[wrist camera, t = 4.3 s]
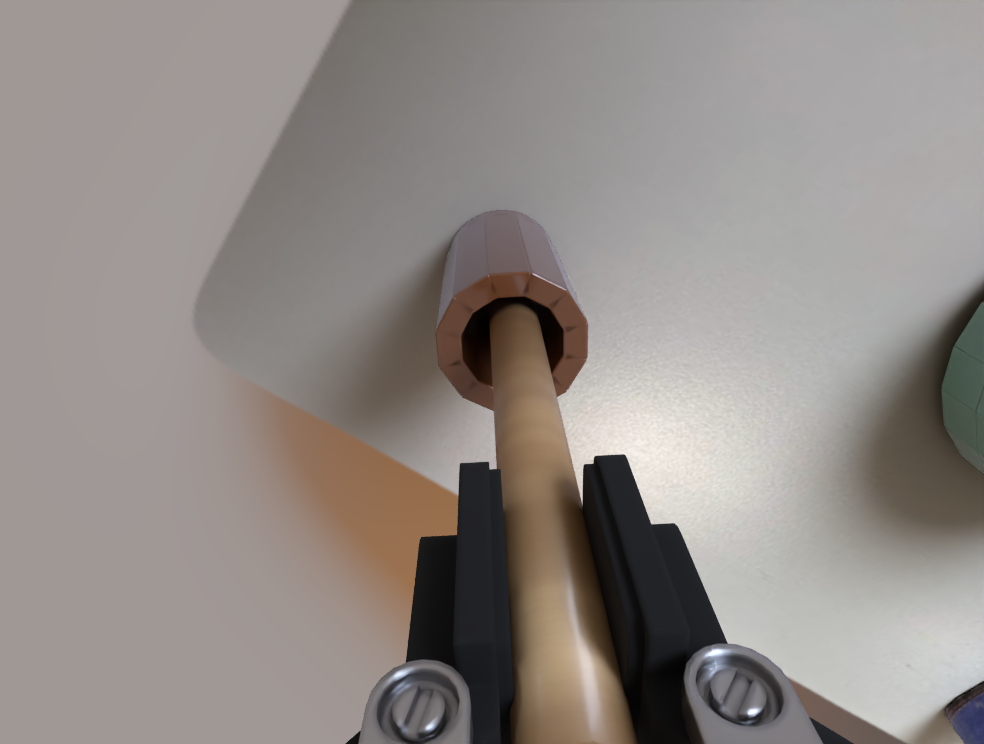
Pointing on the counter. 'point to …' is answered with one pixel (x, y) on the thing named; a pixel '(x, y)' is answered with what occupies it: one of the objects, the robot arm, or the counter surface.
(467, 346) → the crock
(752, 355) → the counter surface
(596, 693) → the cooking stick
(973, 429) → the bowl
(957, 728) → the flask
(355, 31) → the counter surface
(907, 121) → the counter surface
